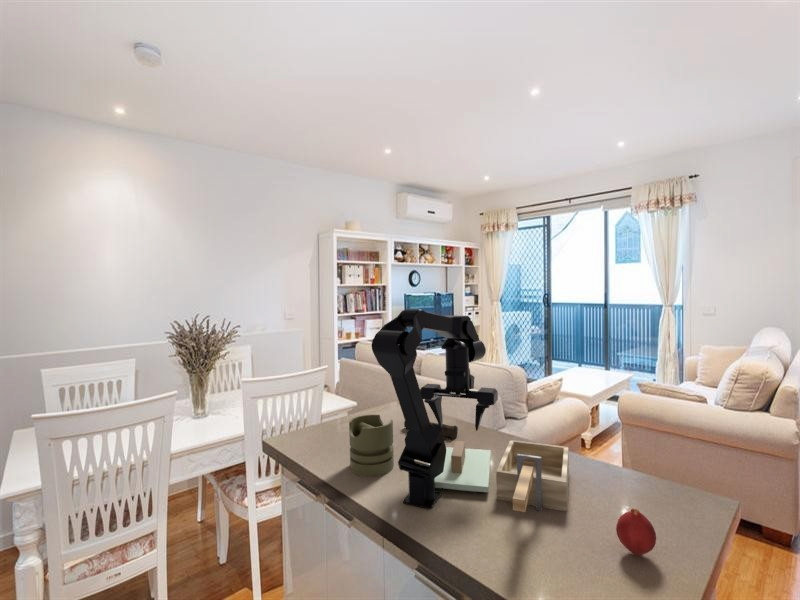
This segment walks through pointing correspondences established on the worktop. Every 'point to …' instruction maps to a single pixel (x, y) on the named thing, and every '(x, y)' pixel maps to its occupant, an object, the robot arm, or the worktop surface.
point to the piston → (371, 446)
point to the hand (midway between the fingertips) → (458, 428)
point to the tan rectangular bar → (523, 489)
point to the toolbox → (552, 473)
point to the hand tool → (446, 430)
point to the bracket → (538, 475)
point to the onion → (636, 532)
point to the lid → (465, 469)
